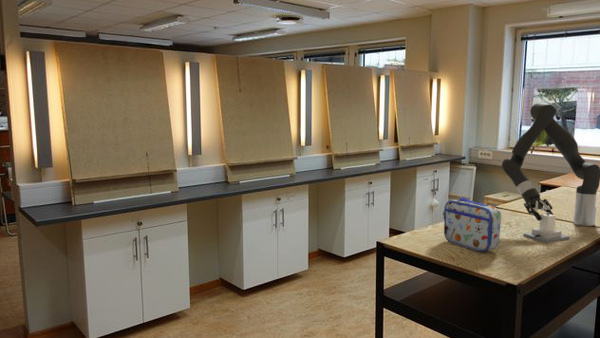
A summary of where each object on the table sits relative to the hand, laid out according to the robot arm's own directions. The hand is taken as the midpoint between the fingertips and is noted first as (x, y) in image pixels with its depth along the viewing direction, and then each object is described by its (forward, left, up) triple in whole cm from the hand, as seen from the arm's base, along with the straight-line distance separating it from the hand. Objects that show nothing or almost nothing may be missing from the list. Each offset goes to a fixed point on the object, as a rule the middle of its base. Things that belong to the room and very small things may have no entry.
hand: (546, 218), depth 224 cm
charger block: (0, +1, -8) cm, 8 cm away
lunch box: (+44, -5, -9) cm, 45 cm away
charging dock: (0, +1, -9) cm, 9 cm away
